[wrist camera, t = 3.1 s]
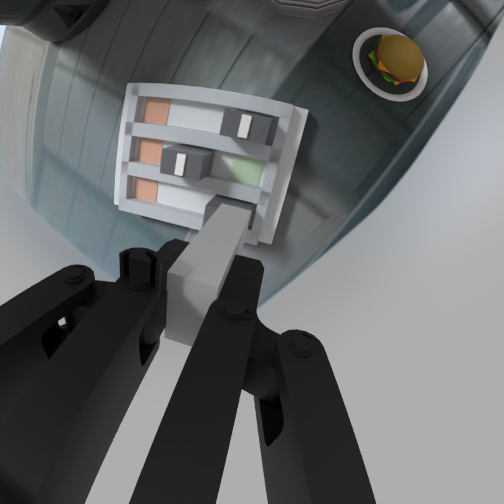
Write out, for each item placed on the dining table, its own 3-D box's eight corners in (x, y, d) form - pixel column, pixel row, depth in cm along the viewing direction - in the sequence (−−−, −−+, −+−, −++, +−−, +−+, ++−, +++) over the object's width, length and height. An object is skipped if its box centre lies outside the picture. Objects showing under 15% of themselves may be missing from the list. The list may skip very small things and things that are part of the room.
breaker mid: (175, 165, 27) (158, 173, 24) (179, 144, 26) (162, 148, 23) (210, 172, 27) (198, 181, 24) (215, 150, 26) (202, 156, 23)
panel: (120, 200, 32) (108, 207, 30) (134, 84, 25) (121, 82, 23) (272, 238, 32) (270, 249, 29) (307, 110, 25) (309, 109, 22)
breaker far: (212, 214, 30) (201, 229, 26) (216, 193, 28) (205, 205, 25) (248, 223, 29) (241, 239, 26) (253, 203, 28) (247, 216, 25)
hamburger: (364, 128, 25) (380, 130, 20) (316, 31, 21) (321, 14, 16) (448, 103, 22) (473, 103, 17) (406, 12, 17) (424, -2, 12)
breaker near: (228, 132, 25) (218, 135, 22) (234, 110, 24) (224, 108, 20) (268, 141, 25) (264, 145, 22) (274, 118, 24) (271, 117, 20)
